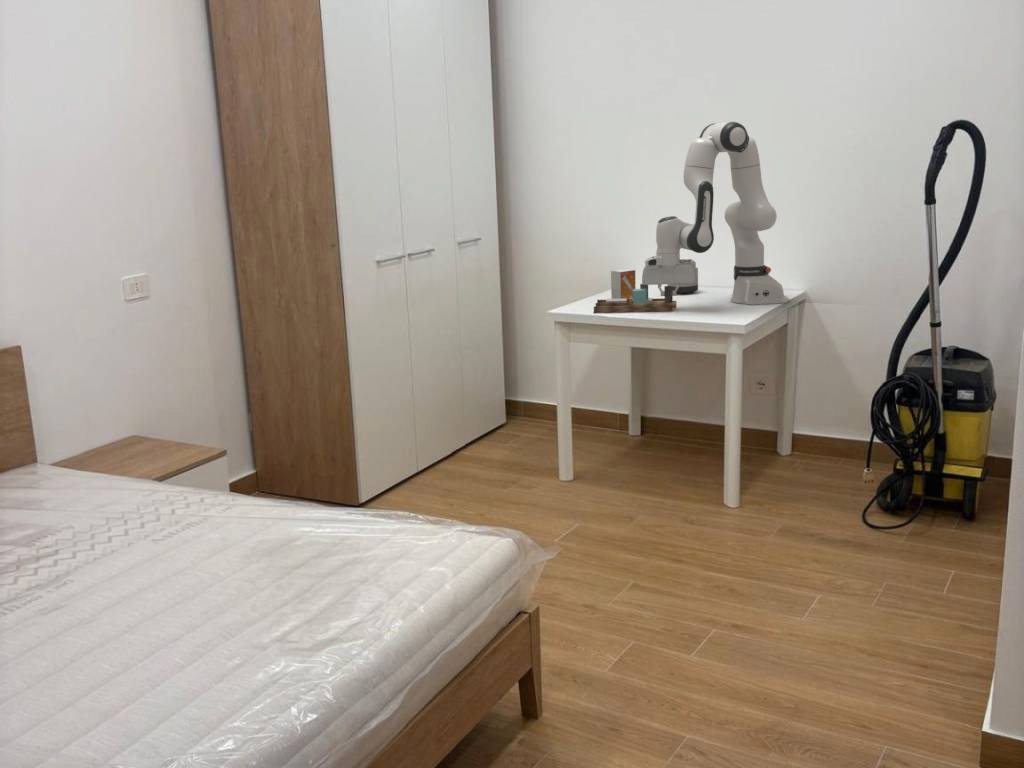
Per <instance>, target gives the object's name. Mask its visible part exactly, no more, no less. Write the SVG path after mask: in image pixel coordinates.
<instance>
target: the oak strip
mask: <svg viewBox="0 0 1024 768" xmlns="http://www.w3.org/2000/svg"><path fill="white" fill-rule="evenodd" d="M664 291H665V296H664V298H665V301H647V302H646V304H633V299H632V296H631V297H630V298H629V306H646V305H672V309H677V306H678V305H677V300H674V299H673V297H674V296H672V294H673V293H672V291H673V290H672V286H667V285H664Z"/></svg>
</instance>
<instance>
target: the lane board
mask: <svg viewBox="0 0 1024 768" xmlns="http://www.w3.org/2000/svg"><path fill="white" fill-rule="evenodd" d="M606 300H607V299H596V302H595V305H594V306H593V314H623V313H624V314H625V313H628V314H630V313H631V314H632V313H672V312H673V308H672V305H646V306H629V299H627V302H624V303H606ZM652 301H665V297H664V298H652Z"/></svg>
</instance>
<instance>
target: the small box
mask: <svg viewBox="0 0 1024 768" xmlns="http://www.w3.org/2000/svg"><path fill="white" fill-rule="evenodd" d="M610 280H611V281H610V283H611V284H610V285H611V286H610V291H611V293H610V294H611V295H610V297H611V298H610V299H623V298H627V299H629V298H630V297H631V296H632V298H633V289H637V288H636V269H630V268H621V269H616V270H610Z"/></svg>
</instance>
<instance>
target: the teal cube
mask: <svg viewBox="0 0 1024 768" xmlns="http://www.w3.org/2000/svg"><path fill="white" fill-rule="evenodd" d="M646 302H647V290H646V289H640V288H636V289H633V304H646Z"/></svg>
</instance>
